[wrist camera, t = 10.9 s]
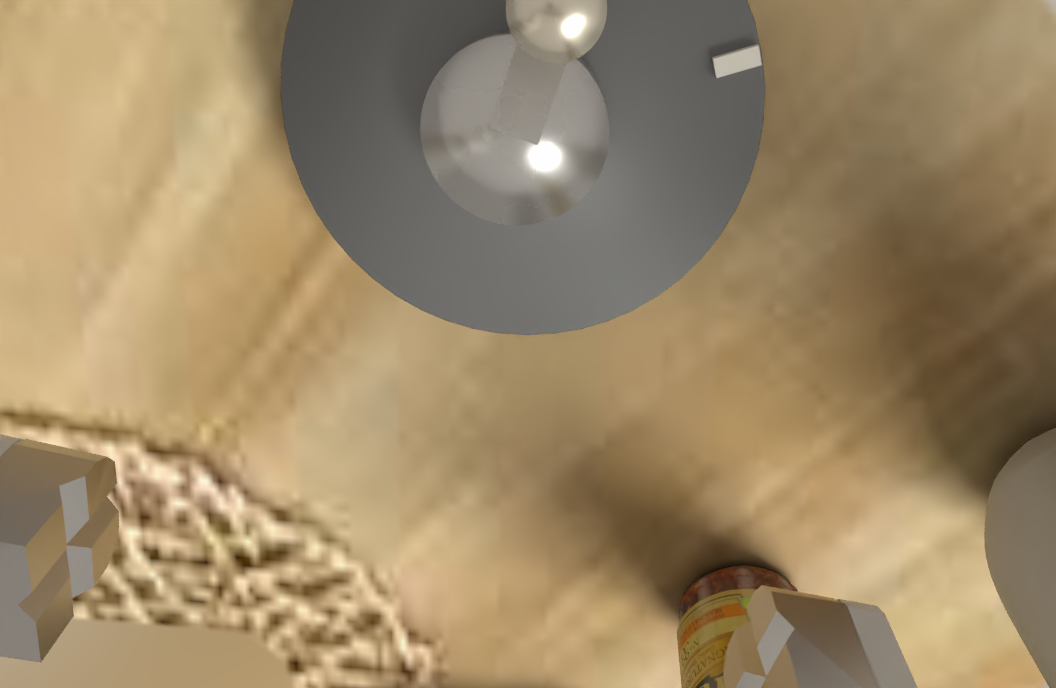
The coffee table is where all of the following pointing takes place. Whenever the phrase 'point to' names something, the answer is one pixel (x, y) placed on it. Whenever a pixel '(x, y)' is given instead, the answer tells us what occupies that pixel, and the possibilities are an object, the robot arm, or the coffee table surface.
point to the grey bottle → (1027, 546)
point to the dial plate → (547, 247)
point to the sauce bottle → (717, 620)
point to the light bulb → (520, 115)
